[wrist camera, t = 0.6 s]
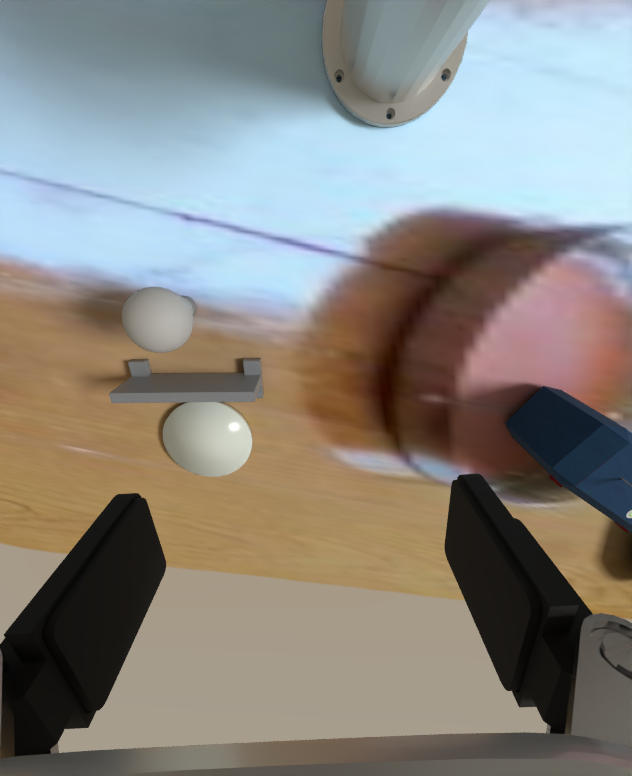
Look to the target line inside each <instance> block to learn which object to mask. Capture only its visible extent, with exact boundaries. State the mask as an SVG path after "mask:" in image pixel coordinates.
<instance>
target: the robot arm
mask: <svg viewBox="0 0 632 776" xmlns="http://www.w3.org/2000/svg"><path fill="white" fill-rule="evenodd" d="M489 2H490V0H327V2H326V7H325V11H324V16H323V28H322V52H323V58H324V65H325V69H326V72H327V76H328V79H329V82H330V84H331V86H332V88H333V90H334V92H335V94H336V96H337V98H338V99H339V100H340V102H341V103H342V104H343V106H344V107H345V108H346V109H347V110H348V111H349V112H350V113H351V114H353V115H354V116H355V117H356V118H358V119H360V120H362V121H363V122H365V123H367V124H371V125H374V126H378V127H395V126H401V125H405V124H407V123H409V122H412V121H414V120H416V119H418V118H419V117H420V116H422V115H423V114H425V113H426V112H428V111H429V110H430V109H431V108H432V107H433V106H434V105H435V104H436V103H437V102H438V101H439V99H440V98H441V97H442V96H443V94H444V93H445V92H446V91H447V89H448V88H449V86H450V84H451V83H452V81H453V80H454V78H455V76H456V73H457V71H458V69H459V66H460V64H461V62H462V58H463V55H464V51H465V47H466V44H467V36H468V31H469V29H470V28H471V27H472V25H473V24H474V22H475V21H476V20H477V18H478V17H479V16H480V14H481V13H482V11H483V10H484V9H485V7H486V6H487V5H488V3H489ZM441 76H444V77H445V81H443V80H442V78H441ZM337 77H340V78H341V80H342V81H341V82H337V81H336V78H337ZM387 114H390V115H391V119H387V118H386V115H387ZM445 554H446V557H447V560H448V562H449V564H450V567H451V569H452V571H453V574H454V576H455V578H456V580H457V583H458V585H459V587H460V590H461V592H462V594H463V596H464V599H465V601H466V603H467V606H468V608H469V610H470V612H471V615H472V617H473V619H474V622H475V624H476V626H477V628H478V630H479V633H480V635H481V638H482V640H483V642H484V644H485V647H486V649H487V651H488V654H489V656H490V658H491V660H492V662H493V665H494V667H495V670H496V672H497V674H498V676H499V679H500V681H501V683H502V685H503V686H504V688H505V689H506V690H507V691H512V692H513V695H514V697H515V699H516V701H517V703H518V706H519V707H537V709H538V711H539V713H540V715H541V717H542V719H543V721H544V722H546V723H547V731H546V733H480V734H479V733H476V734H439V735H414V736H390V737H389V736H388V737H364V738H339V739H317V740H297V741H296V740H295V741H273V742H253V743H231V744H210V745H190V746H172V747H152V748H134V749H114V750H97V751H96V750H95V751H81V752H68V753H59V750H58V741H59V739H60V737H61V735H62V733H63V731H64V729H74V728H88V727H89V725H90V723H91V721H92V719H93V717H94V714H95V712H96V711H97V710H100V709H101V708H102V707H103V706H104V704H105V702H106V700H107V698H108V696H109V694H110V692H111V689H112V687H113V685H114V683H115V681H116V679H117V676H118V674H119V672H120V670H121V668H122V665H123V663H124V661H125V659H126V657H127V654H128V652H129V650H130V648H131V646H132V643H133V641H134V639H135V637H136V635H137V633H138V630H139V628H140V626H141V624H142V622H143V619H144V617H145V615H146V613H147V611H148V608H149V606H150V604H151V602H152V600H153V597H154V595H155V593H156V591H157V589H158V587H159V584H160V582H161V580H162V578H163V576H164V573H165V569H166V560H165V557H164V554H163V551H162V547H161V544H160V541H159V538H158V535H157V532H156V529H155V526H154V523H153V520H152V516H151V513H150V510H149V507H148V504H147V501H146V499H145V498H141V496H140V495H139V494H137V493H132V494H118V495H116V496H115V497H114V498H113V499H112V500H111V502H110V503H109V504H108V505H107V507H106V508H105V509H104V510H103V512H102V513H101V514H100V515H99V517H98V518H97V519H96V520H95V522H94V523H93V524H92V525H91V527H90V528H89V529H88V530H87V531H86V533H85V534H84V535H83V536H82V538H81V539H80V540H79V541H78V543H77V544H76V545H75V546H74V548H73V549H72V550H71V551H70V553H69V554H68V555H67V556H66V558H65V559H64V560H63V561H62V563H61V564H60V565H59V566H58V568H57V569H56V570H55V571H54V573H53V574H52V575H51V576H50V578H49V579H48V580H47V581H46V583H45V584H44V585H43V586H42V588H41V589H40V590H39V591H38V593H37V594H36V595H35V596H34V598H33V599H32V600H31V601H30V603H29V604H28V605H27V606H26V608H25V609H24V610H23V611H22V613H21V614H20V615H19V616H18V618H17V619H16V620H15V621H14V623H13V624H12V625H11V626H10V628H9V629H8V630H7V631H6V633H5V634H4V636H5V637H6V638H5V639H4V640H3V642H2V643H1V644H0V776H632V623H631V622H629V621H627V620H625V619H622V618H619V617H616V616H614V615H608V614H602V613H600V614H592V612H591V611H590V610H589V609H588V607H587V606H586V605H585V603H584V602H583V601H582V600H581V598H580V597H579V596H578V594H577V593H576V592H575V590H574V589H573V588H572V587H571V585H570V584H569V583H568V581H567V580H566V579H565V577H564V576H563V575H562V574H561V572H560V571H559V570H558V568H557V567H556V566H555V565H554V563H553V562H552V561H551V559H550V558H549V557H548V555H547V554H546V553H545V552H544V550H543V549H542V548H541V546H540V545H539V544H538V542H537V541H536V540H535V539H534V537H533V536H532V535H531V533H530V532H529V531H528V529H527V528H526V527H525V526H524V524H523V523H522V522H521V521H520V520H518V519H516V518H513V517H512V515H511V514H510V513H509V511H508V510H507V509H506V507H505V506H504V505H503V503H502V502H501V501H500V499H499V498H498V497H497V495H496V494H495V493H494V491H493V490H492V489H491V487H490V486H489V485H488V483H487V482H486V481H485V479H484V478H483V477H482V476H481V475H480V474H466V475H459V476H458V478H457V480H453V482H452V486H451V495H450V504H449V512H448V521H447V529H446V538H445Z"/></svg>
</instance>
